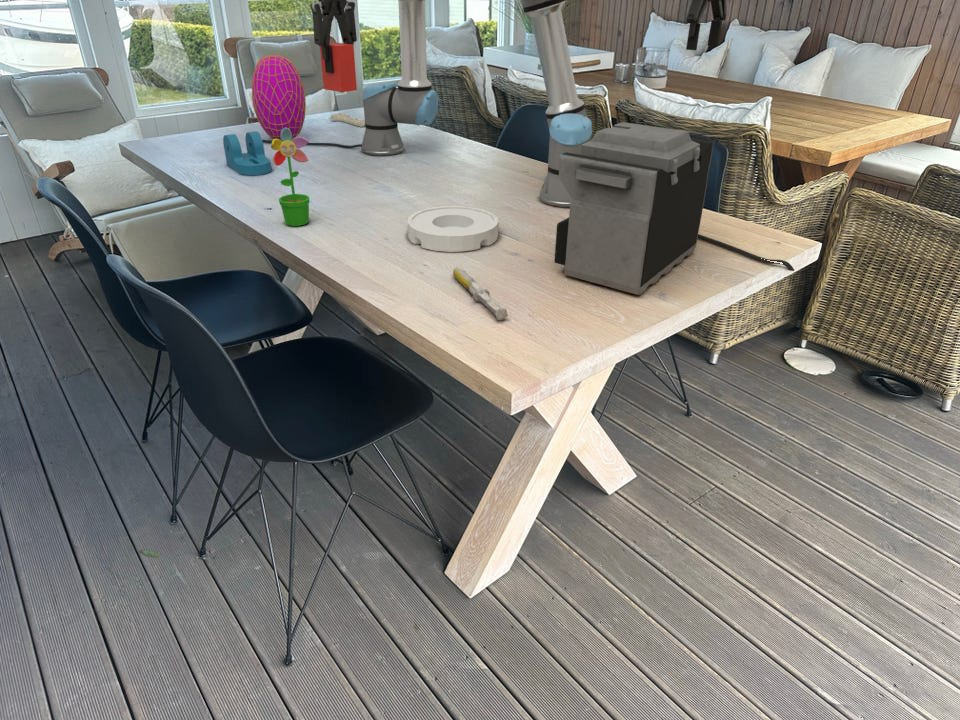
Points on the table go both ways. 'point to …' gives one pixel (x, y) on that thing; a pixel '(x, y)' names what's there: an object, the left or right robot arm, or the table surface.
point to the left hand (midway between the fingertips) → (338, 71)
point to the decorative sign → (347, 119)
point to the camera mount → (246, 154)
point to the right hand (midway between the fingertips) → (702, 48)
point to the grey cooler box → (632, 205)
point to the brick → (340, 68)
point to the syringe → (479, 293)
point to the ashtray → (452, 228)
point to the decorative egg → (278, 96)
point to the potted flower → (291, 178)
